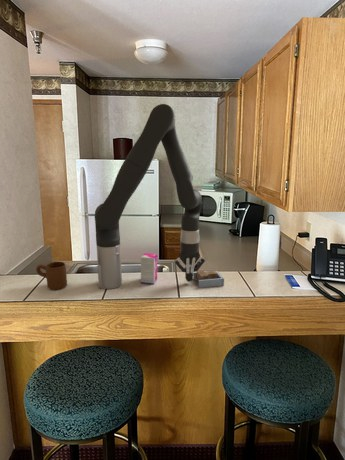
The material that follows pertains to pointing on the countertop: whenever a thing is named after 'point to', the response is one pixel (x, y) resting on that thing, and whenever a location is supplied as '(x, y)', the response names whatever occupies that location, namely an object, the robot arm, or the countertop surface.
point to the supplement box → (148, 268)
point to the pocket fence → (210, 281)
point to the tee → (206, 275)
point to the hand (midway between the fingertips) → (189, 280)
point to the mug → (54, 275)
